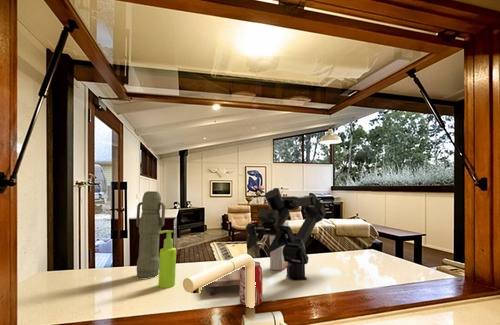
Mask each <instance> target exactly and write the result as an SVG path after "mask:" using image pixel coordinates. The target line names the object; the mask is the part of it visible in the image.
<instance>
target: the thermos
mask: <svg viewBox="0 0 500 325" xmlns="http://www.w3.org/2000/svg"><path fill="white" fill-rule="evenodd" d="M161 197H162V196H161V194H160V192H158V191H152V190H151V191H145V192H144V194H143V196H142V198H141V199H142V201H141V202H138V204H137V205H136V221H135V222H136V224H135V226H136V227H137V228H138V234H139V245H138V246H139V247H138V256H137V257H138V258H137V260H136V278H137V277H138V278H137V279H140V278H148V277H154V278H156V277H155V276H157V275H158V274H159V261H160V235H161V233H158V232H160V231H162V228H163V227H164V226H165V218H166V217H165V216H166V205H165V203H164V202H162V201H161V200H162V198H161ZM158 276H159V275H158ZM158 276H157V277H158ZM148 279H149V278H148Z"/></svg>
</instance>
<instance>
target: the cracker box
mask: <svg viewBox="0 0 500 325" xmlns="http://www.w3.org/2000/svg"><path fill="white" fill-rule="evenodd" d="M284 226H289V221H285V223H284ZM274 238H275V236H269V246H270V245H271V243H272V242H273V240H274ZM284 246H285V245H284ZM284 246H282V247H279V248H278V249H276V250H274V251H272V252H269V261H270V262H269V263H270V264H269V265H270V266H269V268H270V270H271V271H280V272H282V271H283V270H285V269H287V266H288V262H285V261H284V257H283V248H284Z"/></svg>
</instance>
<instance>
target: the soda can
mask: <svg viewBox="0 0 500 325" xmlns="http://www.w3.org/2000/svg"><path fill="white" fill-rule="evenodd" d="M253 261H254V262H255V282H256V285H255V286H256V287H255V303H256V305H258V306H260V304H262V303H263V269H262V268H263V267H262V266H261V263H260V261H255V260H253ZM239 269H240V284H239V303H240V304H242V305H243V306H244V304H245V267H242V268H241V267H240V268H239Z"/></svg>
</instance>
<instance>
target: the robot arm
mask: <svg viewBox="0 0 500 325" xmlns="http://www.w3.org/2000/svg"><path fill="white" fill-rule="evenodd" d="M280 191H281V190H280V189H279V187H273V189H271V190H268V191H267V192H265V194H264V198H265V200H266V202H267V205H268V207H269V209H264V208H263V209H261V208H260V209H259V211H258V214H257V216H256V218H257V219H259V220H260V221H261V223H260V224H261V226H262V227H259V226H260V225H259V224H258V223H249V222H248V223H247V225H246V226H245V230H246V231H247V233H248V241H247V246H246V248H247V249H248V250H250V249H252V247H254V246H255V245H256V244H257V243H258V242H259V241H260V238H262V235H267V236H268V237H270V236H275V238H274V240H273V242H272V243H271V245H270V244H269V246H268V249H267V251H268V253H270V252H272V251H274V250H276V249H278V248H279V247H282V246H284V245H285V246H284V248H283V257H284V261H285V262H288V266H287V267H286V275H285V276H286V277H287V278H288V279H290V280H291V281H303V280H308V278H307V276H306V269H305V268H306V265H308V263H309V256H308V254H307V253H306V247H305V246H306V243H307V242H308V239H309V237H310V235H311V234H312V232H313V230H314V228H315V226H316V224H318V223H320V222H321V221H322V220H323V219H324V218H325V216H326V215H327V210H326V208H325V206H324V204H323V203H322V202H321V201H319V200H318V199H317V197H316V196H315V195H304V196H299V197H298V196H289V195H287V196H285V195H284V196H282V194H281V192H280ZM300 207H304V208H303V209H304V211H305V216H306V217H305V219H304V221H303V222H302V224H301V226H300V227H299V230H298V231H297V233H296V234H294V232H293V229H292V228H291V226H284V223H285V222H287V221H292V217H291V214H290V211H293V212H294V211H296V210H300V209H299V208H300Z"/></svg>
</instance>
